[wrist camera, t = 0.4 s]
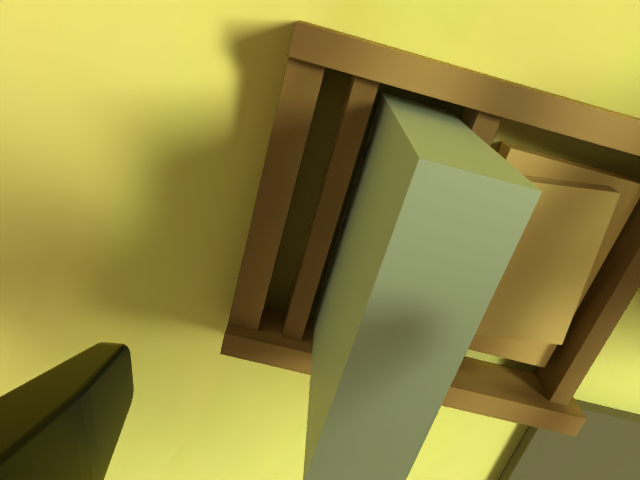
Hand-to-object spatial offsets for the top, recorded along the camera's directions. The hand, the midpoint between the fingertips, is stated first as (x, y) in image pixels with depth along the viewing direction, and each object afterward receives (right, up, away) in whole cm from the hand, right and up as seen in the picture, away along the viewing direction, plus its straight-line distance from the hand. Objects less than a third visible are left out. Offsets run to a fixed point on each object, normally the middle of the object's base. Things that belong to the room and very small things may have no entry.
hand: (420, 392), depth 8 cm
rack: (+4, +2, +13) cm, 13 cm away
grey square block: (+1, +3, +12) cm, 13 cm away
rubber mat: (+12, -9, +17) cm, 23 cm away
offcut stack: (+7, +2, +13) cm, 15 cm away
